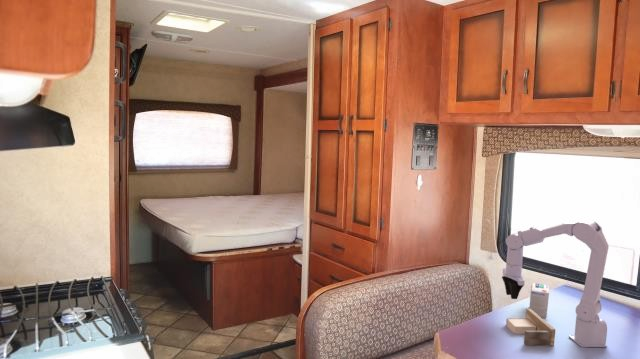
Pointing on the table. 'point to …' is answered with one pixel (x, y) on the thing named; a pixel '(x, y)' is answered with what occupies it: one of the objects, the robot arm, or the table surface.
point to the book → (520, 325)
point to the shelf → (538, 331)
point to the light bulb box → (539, 299)
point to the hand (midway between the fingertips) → (511, 296)
